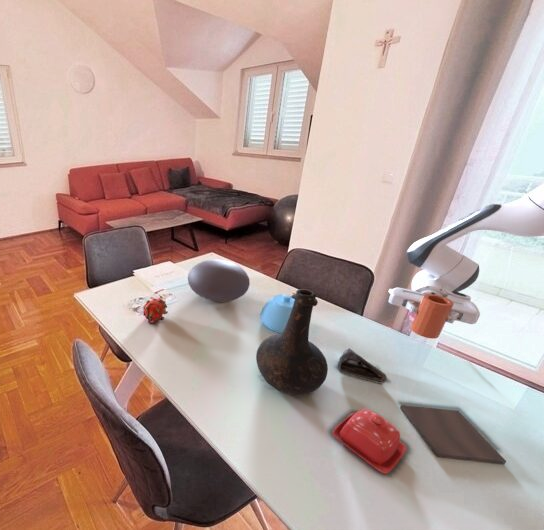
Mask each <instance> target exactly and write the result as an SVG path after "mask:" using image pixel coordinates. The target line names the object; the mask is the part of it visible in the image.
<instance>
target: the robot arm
mask: <svg viewBox="0 0 544 530" xmlns="http://www.w3.org/2000/svg"><path fill="white" fill-rule="evenodd" d="M476 231H494V232H499V233H505V234H509V235H512V236H518V237H527V238H529V237H530V238H534V237H535V238H537V237H544V183H542V184H540V185H539V186H537V187H536V188H534V189H532V190H531V191H530V192H528V193H527V194H525V195H524V196H522V197H520V198H518V199H515V200H513V201H510V202H507V203H506V202H505V203H501V204H498V203H491V204H489V205H485V206H483V207H481V208H479V209H477V210H475V211H473V212H471V213H469V214H467V215H465V216H463V217H461V218H459V219H458V220H456V221H454V222H453V223H450V224H448V225H447V226H445V227H443V228H441V229H439V230H437V231H436V232H433V233H432V234H429V235H427V236H425V237H423V238H420V239H418V240H416V241H415V242H414V243H412V244H411V245H410V246H409V247H408V249H407V250H406V257H407V261H408V263H409V264H411V265H413V266H415V267H417V268H418V269H419V268H420V269H421V270H420V271H418V272H417V273H416V274H415V275H414V276H413V278H412V279H411V284H410V288H411V289H408V288H404V287H394V288H389V289H388V293H389V294H390V295H389V298H388V303H389V304H390V305H393V306H397V307H400V308H405V309H406V310H408V311H409V313H410V314H412V315H413V314H414V315H416V314H417V312H418V310H419V309H418V308H419V305H420V303H421V300H422V298H423V296H424V295H425V294H434V295H439V296H442V297H445V298H447V299H449V300H451V301H452V302H453V303H454V305H453V307H452V309H451V311H450V314H449V316H448V318H447V320H446V322H445V323H449V324H454V322H455V321H457V322H461V323H465V324H468V325H476V324H477V322H478V321H479V318H480V316H481V312H480V309H479V308H478V306H477V305H476V304H475V303H474V302H473V301H471V299H472V297H471V296H470V295H468V294H466V293H462V291H463V290H466V289H467V288H469V287H470V286H472V285H473V284H474V283H475V282H476V281H477V280H478V278H479V274H480V264H479V263H477V262H476V261H474V260H472V259H471V258H470V257H467V256H465V255H464V254H462V253H460V252H459V251H457V250H455V249H454V248H452V247H450V246H449V245H448V244H450V243H452V242H454V241H456V240H458V239H459V238H463V236H466V235H468V234H469V233H472V232H476Z"/></svg>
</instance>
